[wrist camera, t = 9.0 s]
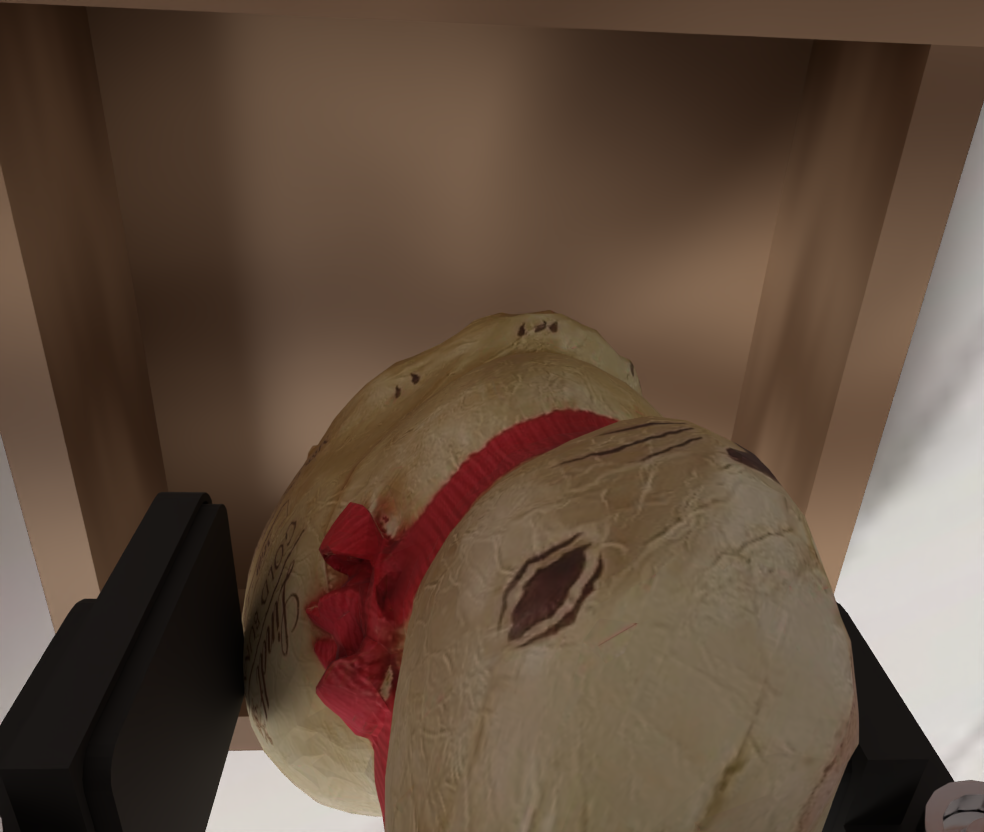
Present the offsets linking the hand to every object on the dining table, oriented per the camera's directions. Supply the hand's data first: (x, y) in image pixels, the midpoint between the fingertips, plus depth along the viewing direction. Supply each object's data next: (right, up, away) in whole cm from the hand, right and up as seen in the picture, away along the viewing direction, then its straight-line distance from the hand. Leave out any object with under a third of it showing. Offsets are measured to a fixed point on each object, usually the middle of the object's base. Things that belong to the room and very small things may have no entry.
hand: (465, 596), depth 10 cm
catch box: (-1, +4, +8) cm, 9 cm away
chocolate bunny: (0, +1, +2) cm, 2 cm away
